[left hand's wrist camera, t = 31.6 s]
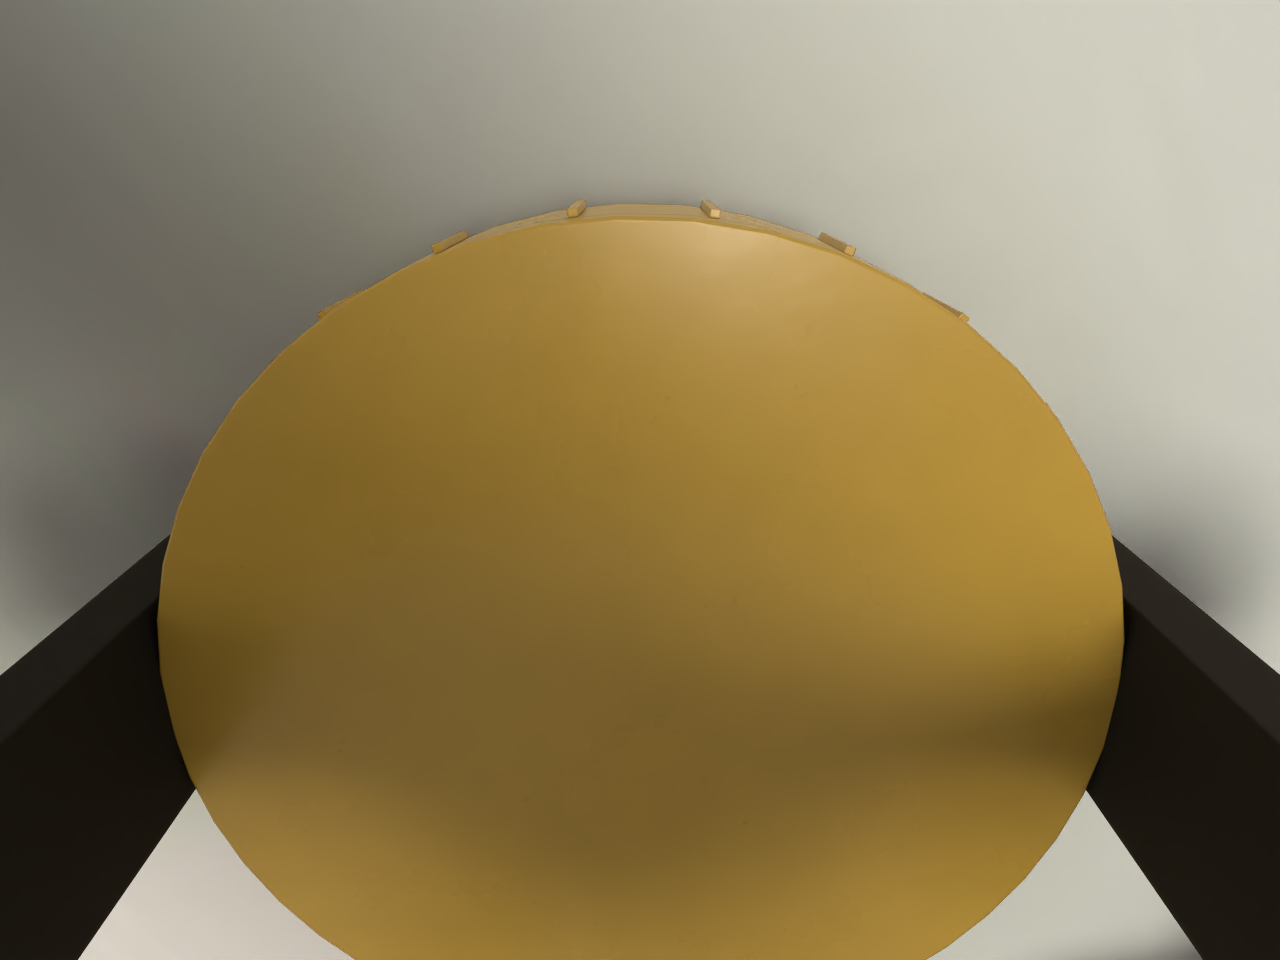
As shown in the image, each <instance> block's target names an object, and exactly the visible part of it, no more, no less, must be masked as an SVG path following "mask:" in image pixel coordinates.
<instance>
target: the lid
mask: <svg viewBox="0 0 1280 960" xmlns="http://www.w3.org/2000/svg"><path fill="white" fill-rule="evenodd" d="M431 248H432V250H433V253H431V254H429V255H427V256H425V257H423V258H422V259H420V260H418V261H416V262H414V263H412V264H410V265H408V266H406V267H404V268H402V269H400V270H398V271H396V272H395V273H393V274H391V275H390V276H388V277H386V278H385V279H383V280H381V281H379V282H378V283H376V284H374V285H373V286H371V287H369V288H368V289H366V290H363V289H362V290H360V291H358V292H356V293H354V294H352V295H350V296H348V297H346V298H344V299H342V300H340V301H338V302H336V303H334V304H332V305H331V306H329V307H327V308H325V309H323V310H322V311H320V312H319V313H318V314H317V316H318V317H319V318H320V320H319V321H318V322H317V323H316V324H314V325H313V326H312V327H311V328H309V329H308V330H307V331H306V332H304V333H303V334H302V335H301V336H300V337H298V338H297V339H296V340H295V341H293V342H292V343H291V344H290V345H288V346H287V347H286V348H285V349H283V350H282V351H281V352H280V353H279V354H278V356H277V357H276V358H275V359H274V360H273V361H272V362H271V363H270V364H269V365H268V367H267V368H266V369H265V370H264V371H263V372H262V373H261V374H260V375H259V376H258V378H257V379H256V380H255V381H254V382H253V383H252V384H251V385H250V386H249V387H248V389H247V390H246V391H245V392H244V393H243V394H242V395H241V396H240V397H239V398H238V399H237V400H236V402H235V403H234V405H233V407H232V408H231V410H230V412H229V413H228V415H227V416H226V418H225V419H224V421H223V422H222V424H221V425H220V427H219V428H218V430H217V431H216V433H215V434H214V436H213V437H212V439H211V440H210V442H209V443H208V445H207V447H206V448H205V450H204V451H203V453H202V455H201V457H200V459H199V462H198V464H197V466H196V468H195V470H194V473H193V475H192V477H191V479H190V482H189V484H188V486H187V488H186V491H185V493H184V495H183V497H182V499H181V502H180V504H179V506H178V509H177V513H176V516H175V520H174V524H173V528H172V531H171V535H170V539H169V543H168V546H167V550H166V554H165V558H164V561H163V567H162V577H161V586H160V596H159V606H158V616H157V629H158V646H159V664H160V674H161V678H162V683H163V687H164V691H165V695H166V700H167V704H168V708H169V713H170V717H171V721H172V726H173V729H174V733H175V737H176V740H177V744H178V747H179V749H180V752H181V755H182V757H183V760H184V763H185V766H186V768H187V771H188V774H189V776H190V778H191V780H192V782H193V784H194V786H195V787H196V789H197V791H198V793H199V795H200V797H201V799H202V800H203V802H204V804H205V806H206V808H207V810H208V812H209V813H210V815H211V817H212V819H213V821H214V822H215V824H216V825H217V827H218V828H219V829H220V831H221V832H222V834H223V835H224V836H225V838H226V839H227V840H228V842H229V843H230V845H231V846H232V847H233V849H234V850H235V852H236V853H237V854H238V856H239V857H240V858H241V860H242V861H243V863H244V864H245V865H246V866H247V867H248V868H249V869H250V870H251V872H252V873H253V874H254V875H255V876H256V877H257V878H258V879H259V880H260V881H261V882H262V883H263V884H264V886H265V887H266V888H267V889H268V890H269V891H270V892H271V893H272V894H273V895H274V896H275V897H276V898H277V899H278V901H279V902H281V903H282V904H283V905H284V906H285V907H286V908H288V909H289V910H290V911H291V912H292V913H293V914H295V915H296V916H297V917H298V918H299V919H300V920H302V921H303V922H304V923H305V924H306V925H308V926H309V927H310V928H311V929H312V930H313V931H315V932H316V933H317V934H318V935H319V936H321V937H322V938H324V939H325V940H327V941H328V942H330V943H331V944H333V945H334V946H336V947H337V948H339V949H340V950H342V951H343V952H345V953H346V954H347V955H349V956H350V957H352V958H353V959H355V960H927V959H928V958H930V957H931V956H933V955H935V954H936V953H938V952H939V951H941V950H943V949H944V948H946V947H947V946H949V945H950V944H951V943H953V942H954V941H955V940H956V939H958V938H959V937H960V936H962V935H963V934H964V933H965V932H967V931H968V930H969V929H971V928H972V927H973V926H974V925H976V924H977V923H978V922H980V921H981V920H982V919H983V918H985V917H986V916H987V915H988V914H989V913H990V912H991V911H992V910H993V909H994V908H995V907H997V906H998V905H999V904H1000V903H1001V902H1002V901H1003V900H1004V899H1005V898H1006V897H1007V896H1008V895H1009V894H1010V893H1011V892H1012V891H1013V890H1014V889H1015V888H1016V887H1017V886H1018V885H1019V884H1020V883H1021V882H1022V881H1023V880H1024V879H1025V878H1026V876H1027V875H1028V874H1029V873H1030V871H1031V870H1032V869H1033V868H1034V866H1035V865H1036V864H1037V863H1038V861H1039V860H1040V859H1041V858H1042V856H1043V855H1044V854H1045V853H1046V851H1047V850H1048V849H1049V848H1050V846H1051V845H1052V844H1053V843H1054V841H1055V840H1056V839H1057V837H1058V836H1059V834H1060V832H1061V831H1062V829H1063V827H1064V826H1065V824H1066V822H1067V821H1068V819H1069V818H1070V816H1071V814H1072V813H1073V811H1074V809H1075V808H1076V806H1077V804H1078V803H1079V801H1080V799H1081V798H1082V796H1083V794H1084V792H1085V790H1086V788H1087V785H1088V783H1089V781H1090V778H1091V776H1092V774H1093V771H1094V769H1095V767H1096V764H1097V762H1098V760H1099V758H1100V755H1101V753H1102V751H1103V747H1104V744H1105V740H1106V736H1107V732H1108V728H1109V724H1110V720H1111V716H1112V712H1113V708H1114V704H1115V700H1116V696H1117V691H1118V686H1119V681H1120V676H1121V667H1122V658H1123V650H1124V619H1123V595H1122V583H1121V578H1120V573H1119V568H1118V563H1117V558H1116V553H1115V549H1114V544H1113V539H1112V534H1111V529H1110V526H1109V523H1108V521H1107V518H1106V516H1105V513H1104V510H1103V508H1102V505H1101V502H1100V500H1099V497H1098V495H1097V492H1096V489H1095V487H1094V484H1093V481H1092V479H1091V476H1090V473H1089V472H1088V470H1087V468H1086V466H1085V465H1084V463H1083V461H1082V459H1081V458H1080V456H1079V454H1078V452H1077V451H1076V449H1075V447H1074V446H1073V444H1072V442H1071V440H1070V439H1069V437H1068V435H1067V433H1066V432H1065V430H1064V428H1063V426H1062V425H1061V423H1060V421H1059V419H1058V418H1057V417H1056V416H1055V414H1054V413H1053V412H1052V411H1051V409H1050V407H1049V406H1048V404H1047V403H1045V402H1044V401H1043V400H1042V398H1041V397H1040V396H1039V395H1038V393H1037V392H1036V391H1035V390H1034V389H1033V387H1032V386H1031V385H1030V384H1029V382H1028V381H1027V380H1026V379H1025V377H1024V376H1023V375H1022V374H1021V372H1020V371H1019V370H1018V369H1017V368H1016V367H1015V366H1014V365H1013V364H1012V363H1011V362H1010V361H1008V360H1007V359H1006V358H1005V357H1004V356H1003V355H1002V354H1001V353H1000V352H998V351H997V350H996V349H995V348H994V347H993V346H992V345H991V344H990V343H989V342H987V341H986V340H985V339H984V338H983V337H982V336H981V335H980V334H979V333H978V332H976V331H975V330H974V329H973V328H972V327H971V326H970V325H969V324H968V323H966V322H967V321H968V320H969V318H968V317H967V316H966V315H965V314H963V313H962V312H960V311H958V310H956V309H954V308H952V307H950V306H948V305H946V304H944V303H943V302H941V301H939V300H937V299H935V298H933V297H931V296H929V295H927V294H925V293H921V292H920V291H918V290H917V289H915V288H914V287H912V286H911V285H909V284H907V283H906V282H904V281H902V280H900V279H898V278H896V277H894V276H892V275H890V274H888V273H886V272H884V271H882V270H881V269H879V268H877V267H875V266H873V265H871V264H869V263H867V262H865V261H863V260H861V259H859V258H857V257H855V256H853V255H854V253H855V251H856V248H854V247H852V246H850V245H848V244H846V243H844V242H842V241H840V240H838V239H835V238H833V237H831V236H829V235H827V234H825V233H821V234H820V236H819V238H818V239H817V238H815V237H813V236H810V235H808V234H805V233H802V232H799V231H796V230H793V229H789V228H786V227H783V226H780V225H777V224H773V223H770V222H767V221H764V220H760V219H757V218H754V217H751V216H748V215H742V214H736V213H729V212H723V211H721V210H720V209H719V208H718V207H717V206H715V205H714V204H713V203H712V202H710V201H704V200H702V202H701V208H699V207H693V206H687V205H660V204H621V203H620V204H611V205H603V206H594V207H586V201H585V200H577V201H576V202H574V203H573V204H572V205H571V206H570V207H569V208H568V209H567V210H558V211H553V212H550V213H546V214H542V215H538V216H534V217H530V218H526V219H522V220H518V221H514V222H510V223H507V224H503V225H499V226H495V227H493V228H490V229H488V230H485V231H483V232H481V233H478V234H476V235H473V236H471V237H468V235H467V233H466V231H465V230H464V231H462V232H459V233H457V234H455V235H453V236H451V237H449V238H447V239H444V240H442V241H440V242H438V243H436V244H434V245H432V246H431Z"/></svg>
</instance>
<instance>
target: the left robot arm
mask: <svg viewBox="0 0 1280 960" xmlns="http://www.w3.org/2000/svg"><path fill="white" fill-rule="evenodd" d="M170 535H171V534H170ZM170 535H169V536H168V537H167V538H165V539H164V540H163V541H162V542H161V543H159V544H158V545H157V546H156V547H155V548H153V549H152V550H151V551H150V552H149V553H147V554H146V555H145V556H144V557H143V558H141V559H140V560H139V561H138V562H137V563H135V564H134V565H133V566H132V567H131V568H129V569H128V570H127V571H126V572H125V573H123V574H122V575H121V576H120V577H118V578H117V579H116V580H115V581H114V582H112V583H111V584H110V585H109V586H108V587H106V588H105V589H104V590H103V591H102V592H100V593H99V594H98V595H97V596H96V597H94V598H93V599H92V600H91V601H90V602H88V603H87V604H86V605H85V606H84V607H82V608H81V609H80V610H79V611H78V612H76V613H75V614H74V615H73V616H72V617H70V618H69V619H68V620H67V621H65V622H64V623H63V624H62V625H61V626H59V627H58V628H57V629H56V630H55V631H53V632H52V633H51V634H50V635H49V636H47V637H46V638H45V639H44V640H43V641H41V642H40V643H39V644H38V645H37V646H35V647H34V648H33V649H32V650H31V651H29V652H28V653H27V654H26V655H25V656H23V657H22V658H21V659H20V660H19V661H17V662H16V663H15V664H14V665H12V666H11V667H10V668H9V669H8V670H6V671H5V672H4V673H3V674H2V675H0V960H78V959H79V957H80V956H81V954H82V953H83V951H84V950H85V949H86V947H87V946H88V944H89V943H90V941H91V940H92V938H93V937H94V936H95V934H96V933H97V931H98V930H99V928H100V927H101V925H102V924H103V922H104V921H105V920H106V918H107V917H108V915H109V914H110V912H111V911H112V909H113V908H114V907H115V905H116V904H117V902H118V901H119V899H120V898H121V896H122V895H123V893H124V892H125V891H126V889H127V888H128V886H129V885H130V883H131V882H132V880H133V879H134V878H135V876H136V875H137V873H138V872H139V870H140V869H141V867H142V866H143V864H144V863H145V862H146V860H147V859H148V857H149V856H150V854H151V853H152V851H153V850H154V848H155V847H156V846H157V844H158V843H159V841H160V840H161V838H162V837H163V835H164V834H165V833H166V831H167V830H168V828H169V827H170V825H171V824H172V822H173V821H174V819H175V818H176V817H177V815H178V814H179V812H180V811H181V809H182V808H183V806H184V805H185V804H186V802H187V801H188V799H189V798H190V796H191V795H192V793H193V792H194V790H195V789H196V787H195V786H194V784H193V782H192V780H191V778H190V776H189V774H188V771H187V768H186V766H185V763H184V760H183V757H182V755H181V752H180V749H179V747H178V744H177V740H176V737H175V733H174V729H173V726H172V721H171V717H170V713H169V708H168V704H167V700H166V695H165V691H164V687H163V683H162V678H161V674H160V664H159V646H158V629H157V616H158V606H159V596H160V586H161V577H162V567H163V561H164V558H165V554H166V550H167V546H168V543H169V539H170ZM1112 539H1113V544H1114V549H1115V553H1116V558H1117V563H1118V568H1119V573H1120V578H1121V583H1122V595H1123V619H1124V650H1123V658H1122V667H1121V676H1120V681H1119V686H1118V691H1117V696H1116V700H1115V704H1114V708H1113V712H1112V716H1111V720H1110V724H1109V728H1108V732H1107V736H1106V740H1105V744H1104V747H1103V751H1102V753H1101V755H1100V758H1099V760H1098V762H1097V764H1096V767H1095V769H1094V771H1093V774H1092V776H1091V778H1090V781H1089V783H1088V785H1087V788H1086V790H1087V792H1088V793H1089V795H1090V796H1091V798H1092V799H1093V801H1094V802H1095V804H1096V805H1097V806H1098V808H1099V809H1100V811H1101V812H1102V814H1103V815H1104V817H1105V818H1106V819H1107V821H1108V822H1109V824H1110V825H1111V827H1112V828H1113V830H1114V831H1115V833H1116V834H1117V835H1118V837H1119V838H1120V840H1121V841H1122V843H1123V844H1124V846H1125V847H1126V848H1127V850H1128V851H1129V853H1130V854H1131V856H1132V857H1133V859H1134V860H1135V862H1136V863H1137V864H1138V866H1139V867H1140V869H1141V870H1142V872H1143V873H1144V875H1145V876H1146V877H1147V879H1148V880H1149V882H1150V883H1151V885H1152V886H1153V888H1154V889H1155V891H1156V892H1157V893H1158V895H1159V896H1160V898H1161V899H1162V901H1163V902H1164V904H1165V905H1166V906H1167V908H1168V909H1169V911H1170V912H1171V914H1172V915H1173V917H1174V918H1175V920H1176V921H1177V922H1178V924H1179V925H1180V927H1181V928H1182V930H1183V931H1184V933H1185V934H1186V936H1187V937H1188V938H1189V940H1190V941H1191V943H1192V944H1193V946H1194V947H1195V949H1196V950H1197V951H1198V953H1199V954H1200V956H1201V957H1202V959H1203V960H1280V675H1279V674H1278V673H1277V672H1276V671H1275V670H1273V669H1272V668H1271V667H1270V666H1269V665H1267V664H1266V663H1265V662H1264V661H1263V660H1261V659H1260V658H1259V657H1258V656H1257V655H1255V654H1254V653H1253V652H1252V651H1251V650H1249V649H1248V648H1247V647H1246V646H1245V645H1243V644H1242V643H1241V642H1240V641H1239V640H1237V639H1236V638H1235V637H1234V636H1232V635H1231V634H1230V633H1229V632H1228V631H1226V630H1225V629H1224V628H1223V627H1222V626H1220V625H1219V624H1218V623H1217V622H1216V621H1214V620H1213V619H1212V618H1211V617H1210V616H1208V615H1207V614H1206V613H1205V612H1204V611H1202V610H1201V609H1200V608H1199V607H1198V606H1196V605H1195V604H1194V603H1193V602H1192V601H1190V600H1189V599H1188V598H1187V597H1185V596H1184V595H1183V594H1182V593H1181V592H1179V591H1178V590H1177V589H1176V588H1175V587H1173V586H1172V585H1171V584H1170V583H1169V582H1167V581H1166V580H1165V579H1164V578H1163V577H1161V576H1160V575H1159V574H1158V573H1157V572H1155V571H1154V570H1153V569H1152V568H1151V567H1149V566H1148V565H1147V564H1146V563H1145V562H1143V561H1142V560H1141V559H1140V558H1138V557H1137V556H1136V555H1135V554H1134V553H1132V552H1131V551H1130V550H1129V549H1128V548H1126V547H1125V546H1124V545H1123V544H1122V543H1120V542H1119V541H1118V540H1117V539H1116V538H1114V537H1113V536H1112Z"/></svg>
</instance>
